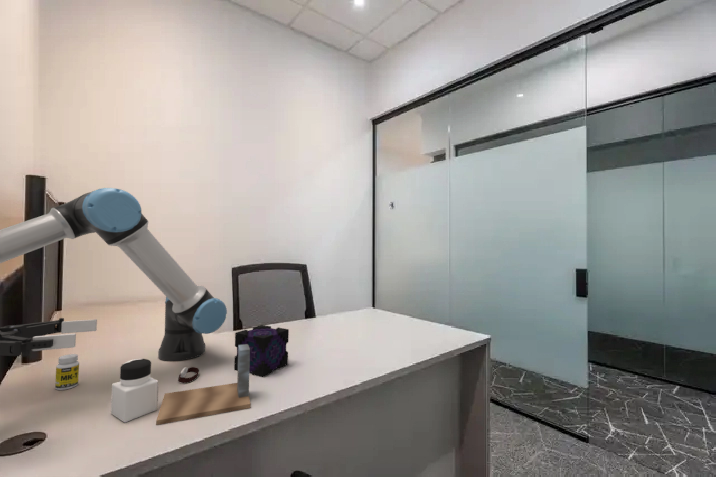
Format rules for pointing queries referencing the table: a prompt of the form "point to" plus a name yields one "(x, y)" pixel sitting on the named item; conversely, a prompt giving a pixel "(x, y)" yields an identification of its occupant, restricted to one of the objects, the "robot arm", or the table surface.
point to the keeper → (209, 396)
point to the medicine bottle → (134, 391)
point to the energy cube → (264, 349)
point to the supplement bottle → (67, 372)
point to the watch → (185, 371)
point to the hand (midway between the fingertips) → (86, 332)
